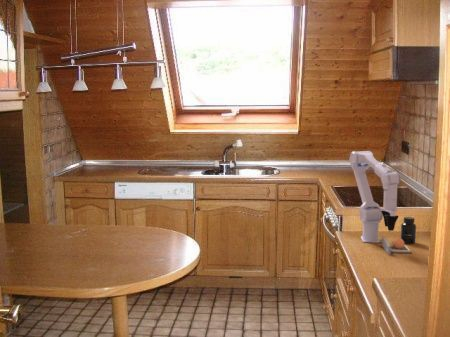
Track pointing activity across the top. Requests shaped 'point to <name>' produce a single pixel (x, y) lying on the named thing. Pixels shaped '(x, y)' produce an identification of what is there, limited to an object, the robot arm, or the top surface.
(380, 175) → the robot arm
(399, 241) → the coral ball
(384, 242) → the grey wall
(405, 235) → the supplement bottle
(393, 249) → the mat
